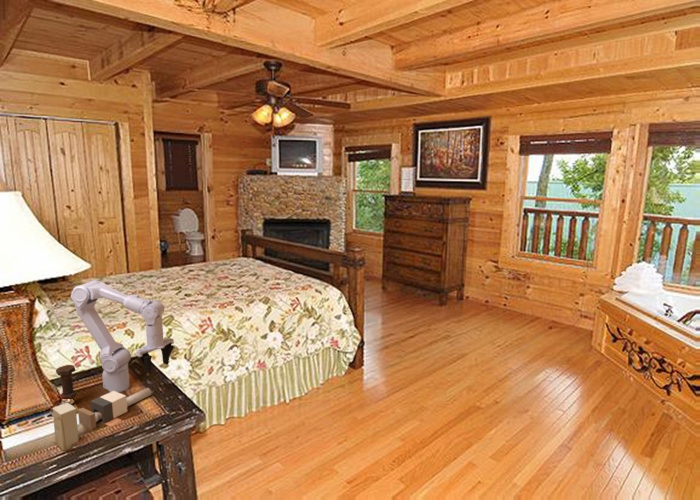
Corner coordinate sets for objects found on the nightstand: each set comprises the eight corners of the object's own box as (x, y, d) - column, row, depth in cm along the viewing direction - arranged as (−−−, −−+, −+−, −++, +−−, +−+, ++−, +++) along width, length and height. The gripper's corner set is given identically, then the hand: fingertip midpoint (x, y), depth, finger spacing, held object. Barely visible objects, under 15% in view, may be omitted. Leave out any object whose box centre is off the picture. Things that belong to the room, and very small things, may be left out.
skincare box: (55, 444, 127) (51, 407, 125) (71, 436, 131) (67, 401, 129) (64, 451, 123) (59, 414, 121) (80, 444, 127) (76, 408, 125)
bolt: (68, 412, 144) (64, 372, 142) (56, 410, 145) (52, 370, 143) (82, 403, 150) (78, 365, 148) (70, 401, 151) (66, 363, 149)
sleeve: (101, 412, 142) (99, 397, 141) (115, 406, 147) (113, 390, 146) (113, 418, 139) (111, 402, 138) (127, 411, 143) (126, 395, 142)
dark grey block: (92, 417, 140) (90, 401, 139) (101, 412, 142) (99, 397, 141) (104, 422, 136) (103, 406, 135) (113, 418, 139) (112, 402, 138)
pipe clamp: (65, 425, 137) (63, 409, 136) (137, 391, 159) (136, 376, 158) (93, 440, 129) (92, 422, 128) (165, 402, 152) (164, 387, 151)
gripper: (144, 342, 147) (146, 377, 149) (178, 329, 160) (180, 362, 162) (131, 338, 151) (134, 373, 153) (166, 326, 163) (168, 358, 165)
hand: (157, 367), depth 158 cm, fingers open, 7 cm apart
